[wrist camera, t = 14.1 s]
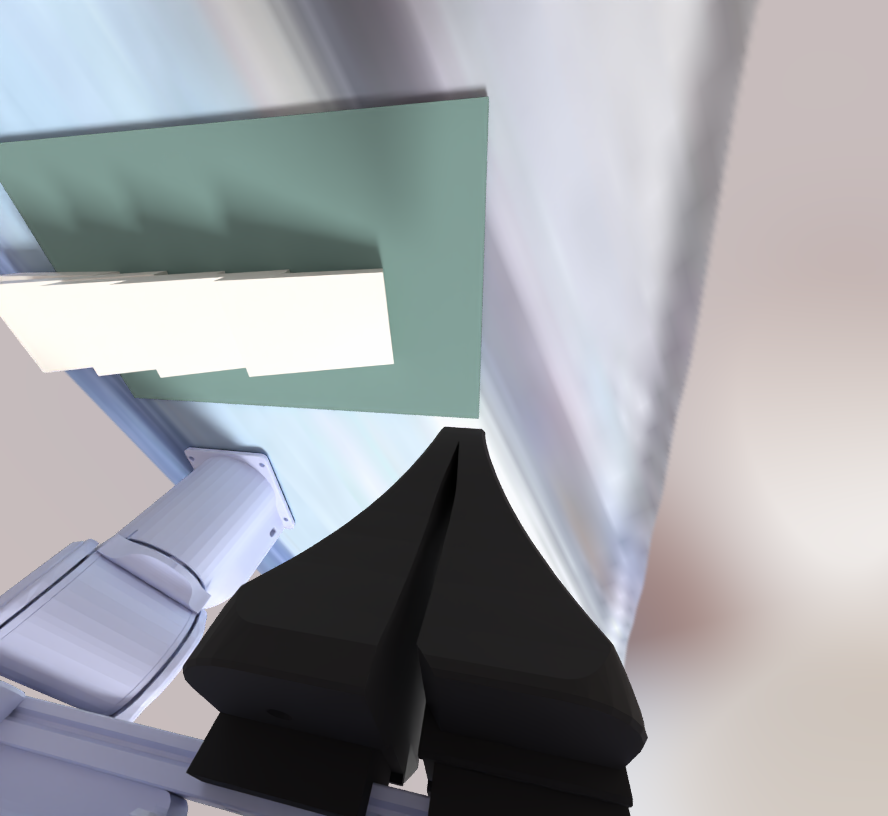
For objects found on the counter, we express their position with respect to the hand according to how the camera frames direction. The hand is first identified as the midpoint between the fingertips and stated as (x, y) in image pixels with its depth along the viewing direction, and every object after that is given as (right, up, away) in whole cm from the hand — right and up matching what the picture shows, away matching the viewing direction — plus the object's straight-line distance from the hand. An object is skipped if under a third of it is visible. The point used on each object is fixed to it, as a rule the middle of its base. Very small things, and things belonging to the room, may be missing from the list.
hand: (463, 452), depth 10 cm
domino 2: (-14, +7, +9) cm, 18 cm away
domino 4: (-4, +7, +7) cm, 11 cm away
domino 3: (-9, +7, +8) cm, 14 cm away
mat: (-12, +9, +9) cm, 18 cm away
